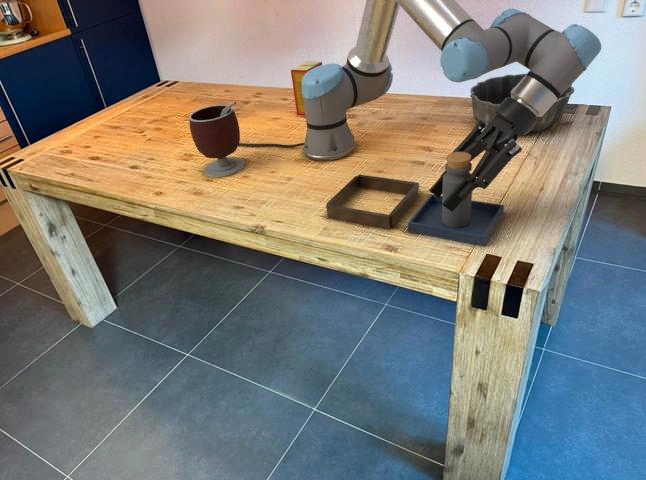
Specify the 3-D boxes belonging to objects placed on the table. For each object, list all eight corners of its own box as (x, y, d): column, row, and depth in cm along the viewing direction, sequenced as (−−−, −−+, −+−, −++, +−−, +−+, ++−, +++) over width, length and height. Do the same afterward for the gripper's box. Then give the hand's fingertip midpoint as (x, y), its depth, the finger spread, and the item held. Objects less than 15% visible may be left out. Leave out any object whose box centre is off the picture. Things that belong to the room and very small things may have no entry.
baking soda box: (312, 116, 177) (306, 69, 168) (297, 115, 181) (290, 68, 171) (326, 106, 183) (321, 60, 173) (311, 105, 186) (306, 60, 177)
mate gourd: (193, 178, 151) (174, 112, 139) (215, 157, 161) (199, 94, 149) (239, 179, 145) (224, 110, 133) (258, 158, 155) (246, 92, 143)
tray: (407, 231, 110) (407, 222, 109) (430, 202, 118) (430, 194, 117) (484, 246, 101) (485, 236, 100) (503, 214, 109) (504, 205, 108)
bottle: (471, 227, 106) (475, 161, 98) (442, 228, 108) (444, 163, 99) (468, 213, 111) (473, 149, 102) (441, 214, 112) (442, 151, 104)
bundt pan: (590, 125, 137) (598, 88, 131) (505, 150, 133) (509, 113, 128) (525, 100, 158) (529, 67, 152) (450, 121, 154) (451, 88, 149)
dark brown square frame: (325, 217, 120) (324, 205, 118) (358, 185, 130) (357, 174, 129) (391, 230, 111) (390, 217, 109) (420, 195, 122) (420, 182, 120)
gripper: (565, 133, 91) (472, 231, 100) (509, 103, 106) (433, 190, 115) (541, 111, 88) (448, 213, 96) (487, 83, 103) (411, 174, 112)
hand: (440, 200), depth 106 cm, fingers closed on bottle, 6 cm apart
